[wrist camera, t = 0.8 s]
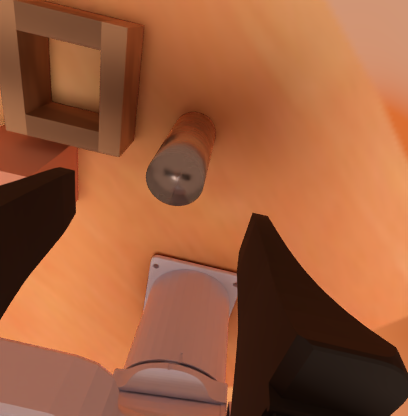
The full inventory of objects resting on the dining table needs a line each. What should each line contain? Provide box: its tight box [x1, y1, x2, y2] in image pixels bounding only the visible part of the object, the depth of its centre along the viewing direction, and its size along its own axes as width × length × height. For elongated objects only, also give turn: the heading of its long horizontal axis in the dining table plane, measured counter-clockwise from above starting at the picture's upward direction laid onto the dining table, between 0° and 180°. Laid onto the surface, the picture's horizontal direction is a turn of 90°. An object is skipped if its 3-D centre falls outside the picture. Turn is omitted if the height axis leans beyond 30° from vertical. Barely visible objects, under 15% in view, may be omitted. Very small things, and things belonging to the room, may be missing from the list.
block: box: [0, 125, 78, 201], centre depth 21 cm, size 5×5×6 cm
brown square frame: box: [0, 0, 144, 157], centre depth 19 cm, size 7×7×3 cm
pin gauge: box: [146, 112, 216, 206], centre depth 18 cm, size 3×3×7 cm
